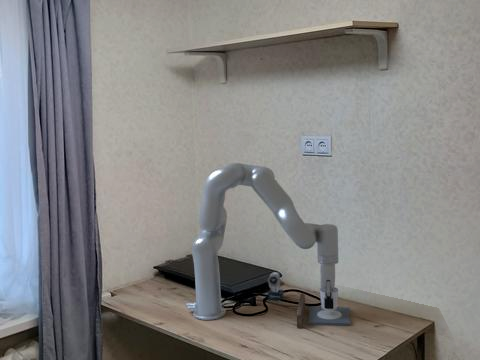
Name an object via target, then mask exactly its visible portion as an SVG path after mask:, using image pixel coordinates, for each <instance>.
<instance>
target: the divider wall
mask: <svg viewBox="0 0 480 360" xmlns="http://www.w3.org/2000/svg"><path fill="white" fill-rule="evenodd" d="M305 307H306V293H305V292H304V293H303V292H301V293H300V294H299V300H298V305H297V310H296V311H297V312H296V328H297V329H303V323H304V321H303V320H304V314H305Z"/></svg>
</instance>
